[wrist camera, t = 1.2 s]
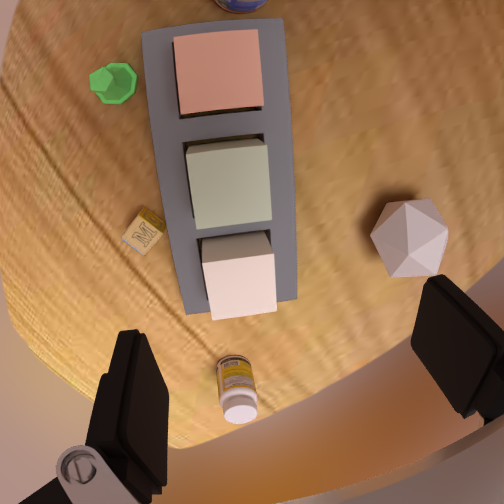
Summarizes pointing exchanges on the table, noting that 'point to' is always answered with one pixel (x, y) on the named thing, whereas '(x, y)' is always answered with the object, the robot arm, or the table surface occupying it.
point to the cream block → (239, 275)
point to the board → (214, 126)
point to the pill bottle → (241, 5)
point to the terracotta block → (218, 70)
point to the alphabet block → (144, 231)
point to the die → (410, 238)
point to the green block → (229, 182)
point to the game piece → (114, 83)
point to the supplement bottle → (236, 389)
